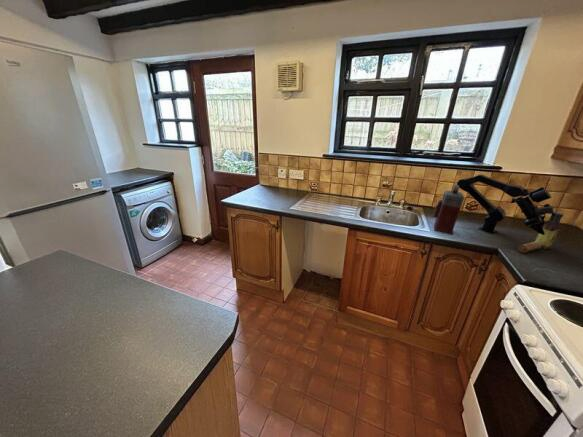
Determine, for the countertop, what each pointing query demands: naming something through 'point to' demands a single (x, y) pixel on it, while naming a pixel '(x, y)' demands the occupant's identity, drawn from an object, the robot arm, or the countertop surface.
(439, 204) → the red bottle
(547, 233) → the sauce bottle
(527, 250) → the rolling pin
